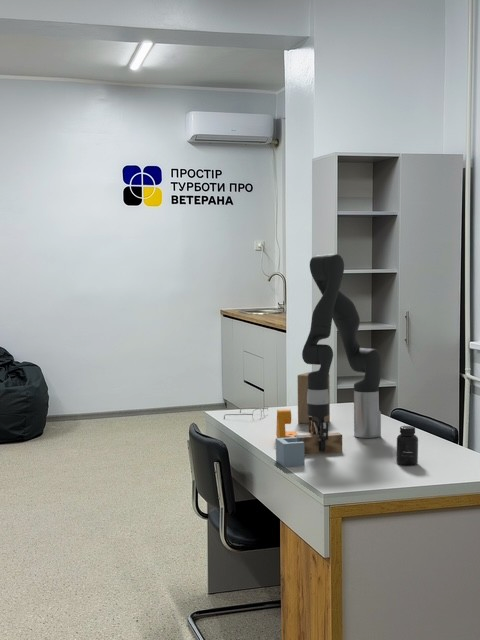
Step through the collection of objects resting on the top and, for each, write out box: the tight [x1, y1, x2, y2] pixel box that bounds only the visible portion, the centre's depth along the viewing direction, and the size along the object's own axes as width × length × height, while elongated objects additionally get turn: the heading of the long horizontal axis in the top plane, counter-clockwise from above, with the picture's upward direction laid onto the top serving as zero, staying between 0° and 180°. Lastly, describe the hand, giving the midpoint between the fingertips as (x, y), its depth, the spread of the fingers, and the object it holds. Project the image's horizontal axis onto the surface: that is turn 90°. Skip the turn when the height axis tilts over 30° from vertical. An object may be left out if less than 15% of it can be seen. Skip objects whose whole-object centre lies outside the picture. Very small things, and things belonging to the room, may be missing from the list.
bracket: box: [276, 408, 299, 438], centre depth 300 cm, size 11×7×12 cm, turn 4°
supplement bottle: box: [396, 425, 419, 467], centre depth 264 cm, size 7×7×12 cm
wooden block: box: [297, 371, 331, 425], centre depth 336 cm, size 10×10×20 cm
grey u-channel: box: [275, 437, 306, 468], centre depth 267 cm, size 7×9×8 cm
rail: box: [294, 432, 343, 456], centre depth 282 cm, size 16×4×6 cm, turn 104°
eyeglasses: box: [223, 405, 269, 422], centre depth 351 cm, size 16×15×5 cm
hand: (318, 448), depth 282 cm, fingers open, 7 cm apart
